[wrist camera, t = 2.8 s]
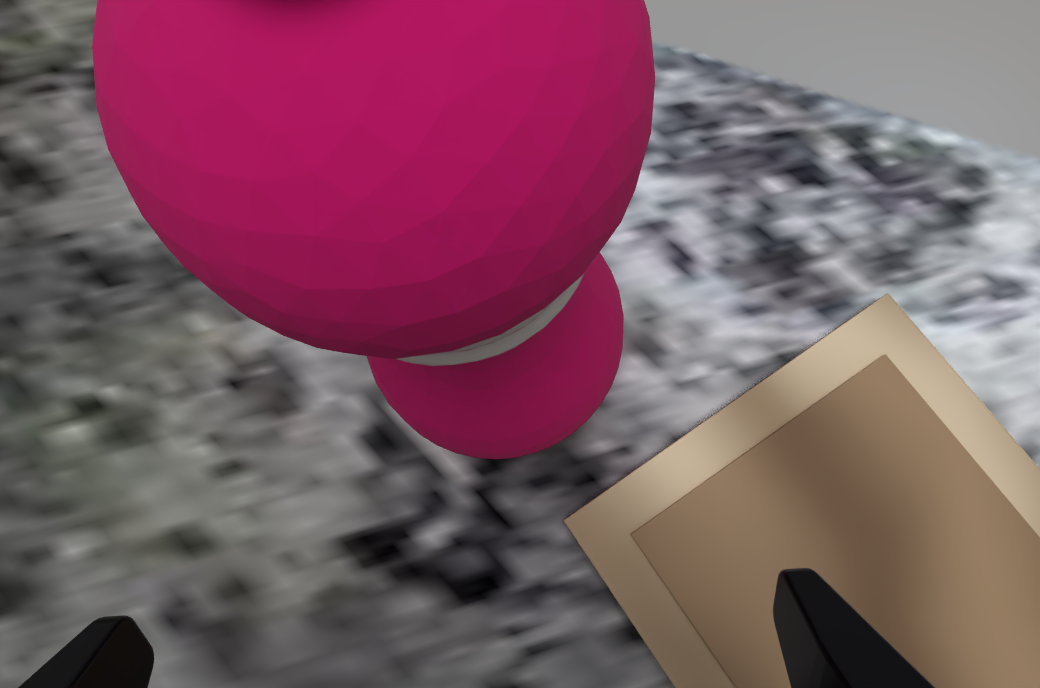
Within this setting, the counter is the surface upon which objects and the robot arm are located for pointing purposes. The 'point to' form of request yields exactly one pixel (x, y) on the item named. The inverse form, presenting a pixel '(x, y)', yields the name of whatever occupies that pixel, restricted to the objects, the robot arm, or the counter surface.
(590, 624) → the counter surface
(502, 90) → the pepper mill
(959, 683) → the beech tray
